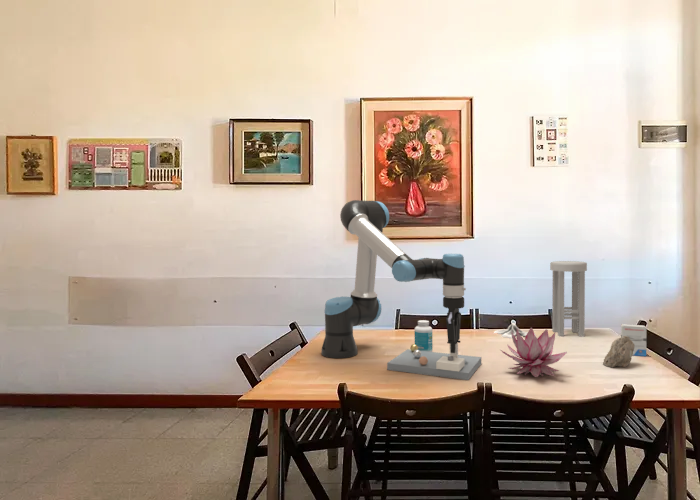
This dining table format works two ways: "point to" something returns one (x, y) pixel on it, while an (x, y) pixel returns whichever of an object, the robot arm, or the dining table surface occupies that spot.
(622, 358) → the rock
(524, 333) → the cloth
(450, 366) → the cover
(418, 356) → the steel ball
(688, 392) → the dining table surface
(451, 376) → the board
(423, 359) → the clay ball
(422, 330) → the pill bottle
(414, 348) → the brass ball
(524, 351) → the decorative flower
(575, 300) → the stool
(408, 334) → the dining table surface
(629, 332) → the ink box
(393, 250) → the robot arm
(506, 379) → the dining table surface
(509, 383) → the dining table surface
